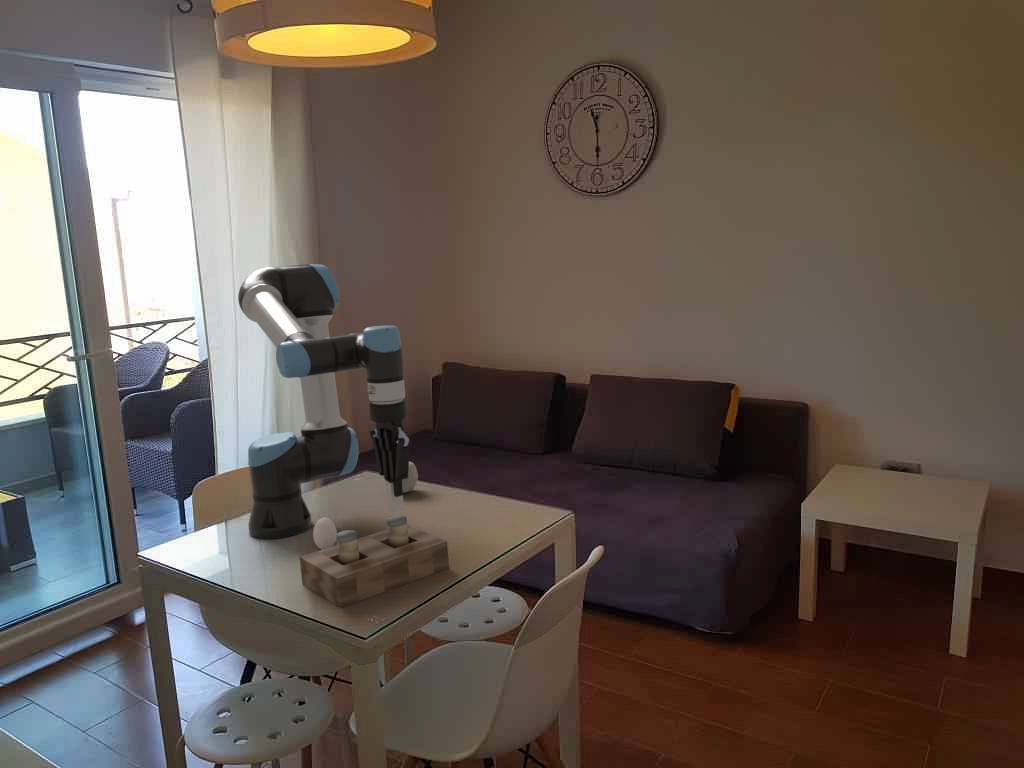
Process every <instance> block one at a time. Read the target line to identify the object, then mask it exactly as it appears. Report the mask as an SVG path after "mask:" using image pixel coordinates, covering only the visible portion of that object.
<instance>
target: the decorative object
mask: <svg viewBox="0 0 1024 768" xmlns="http://www.w3.org/2000/svg"><path fill="white" fill-rule="evenodd" d="M418 480H419V474H418V469H417V467H416V465H415V464H414V462H412V461H409V470H408V478H407V479H403V480H402V489H403V490H402V491H403V494H405V493H406V494H407V493H409V492H410V491H413V490H414V489H415V487H416V486H417V485H418V484H417V483H418Z"/></svg>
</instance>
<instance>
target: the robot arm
mask: <svg viewBox="0 0 1024 768" xmlns="http://www.w3.org/2000/svg"><path fill="white" fill-rule="evenodd" d="M237 295H238V297H237V298H238V299H237V300H238V305H239V308H240V310H241V312H242V313H243V314H244V315H245V317H246V318H247V319H248V320H250V321H252V322H255V323H256V324H257V325H258V327H260V329H261V330H262V332H263V333H265V335H266V336H267V338H268V339H269V340H270V342H272V344H273V345H274V347H275V348H276V351H275V360H276V365H277V368H278V372H279V374H280V375H281V376H282V377H283V378H286V379H292V378H294V379H295V378H298V379H300V386H301V394H302V395H301V396H302V401H303V402H302V403H303V409H304V416H305V422H304V423H303V425H302V426H301V427H300V433H301V436H296V434H295V433H294V432H291V431H284V432H276V433H271V434H269V435H265V436H262V437H260V438H257V440H254V441H253V442H252V443H251V444H250V445H249V446H248V450H247V454H248V455H247V457H248V458H247V459H248V462H247V465H248V468H249V474H250V475H249V477H250V483H251V484H250V485H251V492H252V493H251V494H252V506H251V511H250V515H249V521H248V532H249V535H250V536H251V537H254V538H257V539H265V540H266V539H269V540H270V539H280V538H286V537H291V536H295V535H298V534H300V533H303V532H305V531H307V530H309V528H311V527H312V525H313V524H312V523H313V522H312V515H311V513H310V510H309V507H307V503H306V501H305V499H304V497H303V495H302V486H301V485H302V484H305V483H310V482H314V481H315V482H317V481H319V480H324V479H328V478H330V479H331V478H338V477H340V476H344V475H347V474H350V473H352V472H353V471H354V470H355V468H356V466H357V463H358V460H359V453H360V452H359V451H360V449H359V439H358V438H357V433H356V432H355V430H354V429H353V428H351V427H348V422H347V421H346V420H345V419H344V418H342V416H341V414H340V407H339V397H338V391H337V383H336V373H341V372H345V371H346V372H347V371H355V370H363V369H364V370H365V372H366V373H365V374H366V382H367V389H366V390H367V393H368V400H369V401H370V403H369V405H368V407H369V416H370V417H369V418H370V420H371V421H372V422H374V423H375V425H374V426H375V428H374V429H372V430H369V435H370V436H369V437H370V439H371V441H372V445H373V449H374V453H375V460H376V463H377V468H378V473H379V475H380V477H381V476H383V478H384V480H385V482H386V491H387V499H388V511H389V512H391V513H395V512H399V511H401V510H404V509H405V507H404V495H403V494H404V493H403V491H402V490H403V489H402V480H403V479H407V478H408V470H409V462H410V454H411V453H410V452H411V451H410V449H411V444H412V441H413V438H412V436H411V435H408V436H407V435H406V434H405V428H404V425H403V421H404V419H406V418H407V417H408V416H407V414H408V413H407V401H405V400H404V399H405V397H406V390H405V377H404V366H403V349H402V346H403V345H402V339H401V334H400V329H399V328H398V326H396V325H373V326H368V327H366V328H364V329H363V331H358V332H351V333H349V334H345V335H336V336H335V335H334V336H330V329H329V322H330V321H331V320H332V318H333V317H334V313H333V310H336V309H337V308H338V306H339V304H340V300H339V299H340V292H339V287H338V284H337V281H336V278H335V275H334V274H333V272H332V271H331V269H330V268H329V267H327V266H326V265H325V264H320V263H319V264H317V263H316V264H315V263H313V264H312V263H306V264H295V265H284V266H281V265H280V266H267V267H263V268H260V269H257V270H255V271H253V272H252V273H250V274H249V275H248V276H247V277H246V278H245V279H244V281H243V282H242V284H241V286H240V287H239V291H238V294H237Z"/></svg>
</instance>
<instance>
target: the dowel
mask: <svg viewBox="0 0 1024 768" xmlns="http://www.w3.org/2000/svg"><path fill="white" fill-rule="evenodd" d="M358 537H359V536H358V531H356V530H353V529H352V530H351V529H349V530H342V531H339V532H337V534H336V538H337V540H336V545H337V549H338V559H339V563H340V564H344V565H346V564H349V563H352V562H355V561H358V560H360V558H359V547H358V539H359V538H358Z"/></svg>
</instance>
